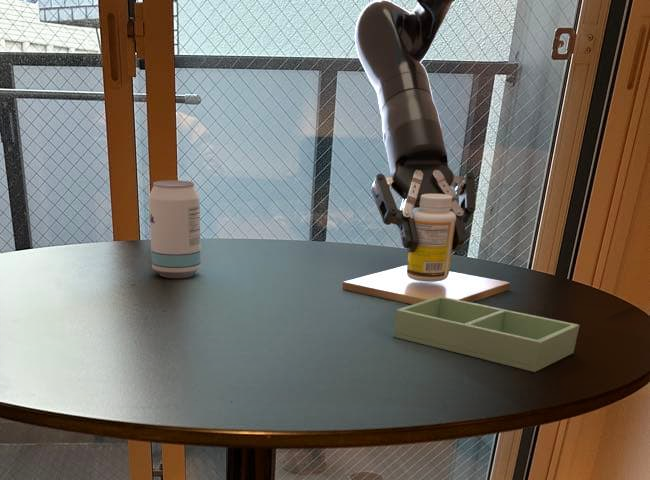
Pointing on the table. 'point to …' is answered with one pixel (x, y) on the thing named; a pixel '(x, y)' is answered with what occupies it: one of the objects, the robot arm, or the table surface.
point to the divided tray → (487, 332)
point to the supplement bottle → (432, 239)
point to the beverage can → (175, 228)
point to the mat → (425, 286)
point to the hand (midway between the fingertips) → (436, 247)
